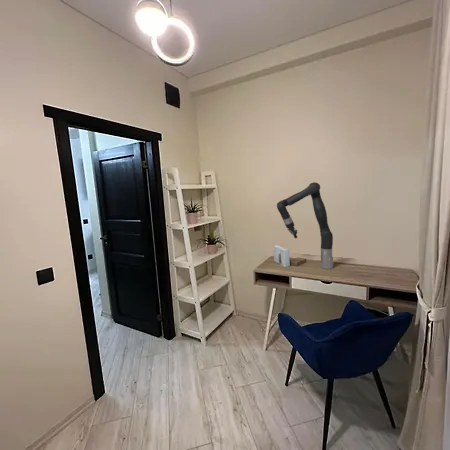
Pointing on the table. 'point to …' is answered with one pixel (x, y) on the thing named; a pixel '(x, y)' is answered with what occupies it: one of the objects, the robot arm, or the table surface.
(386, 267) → the table surface
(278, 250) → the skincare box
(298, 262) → the walnut block
